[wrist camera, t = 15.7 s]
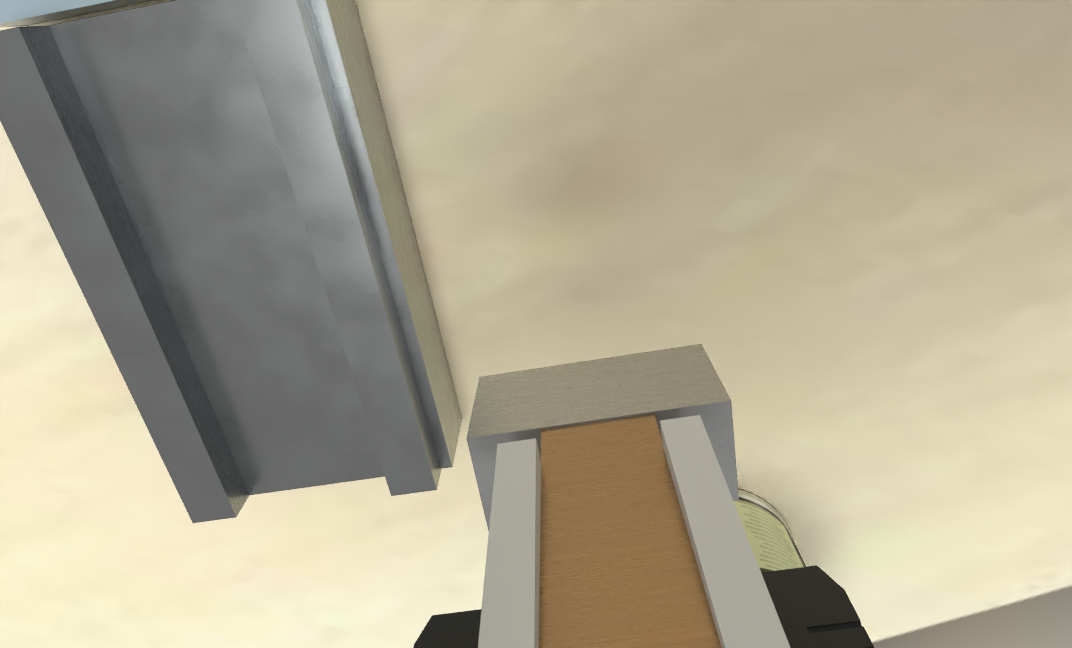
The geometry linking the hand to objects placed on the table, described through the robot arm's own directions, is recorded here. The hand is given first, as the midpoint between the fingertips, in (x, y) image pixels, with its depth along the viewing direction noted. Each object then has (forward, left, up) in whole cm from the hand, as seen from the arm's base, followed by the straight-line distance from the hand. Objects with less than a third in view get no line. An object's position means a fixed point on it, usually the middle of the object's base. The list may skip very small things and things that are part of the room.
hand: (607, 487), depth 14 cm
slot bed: (+13, -1, -18) cm, 22 cm away
